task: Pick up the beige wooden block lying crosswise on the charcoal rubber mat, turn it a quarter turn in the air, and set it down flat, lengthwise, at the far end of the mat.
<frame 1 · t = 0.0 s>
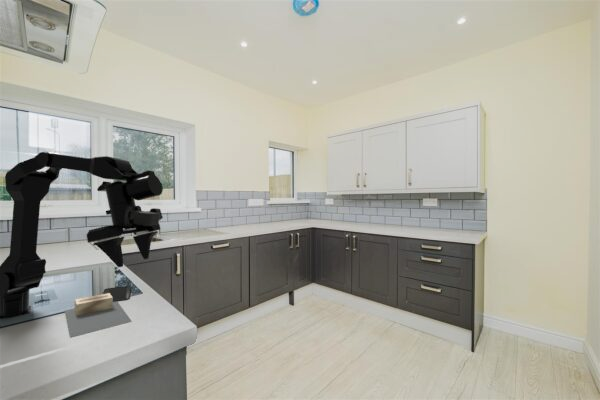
hand: (134, 262, 68), 15 cm above the table, tool pointing down, fingers open, 9 cm apart
beige wooden block: (93, 308, 74), resting on mat
phone: (116, 297, 86), on the table
mat: (96, 317, 70), on the table
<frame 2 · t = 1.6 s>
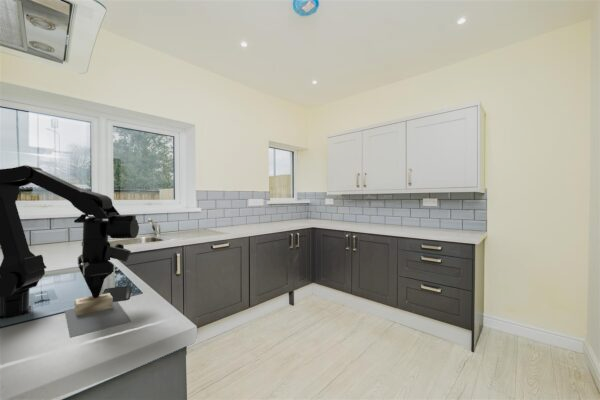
hand: (93, 293, 74), 5 cm above the table, tool pointing down, fingers open, 9 cm apart
nothing on the table moved.
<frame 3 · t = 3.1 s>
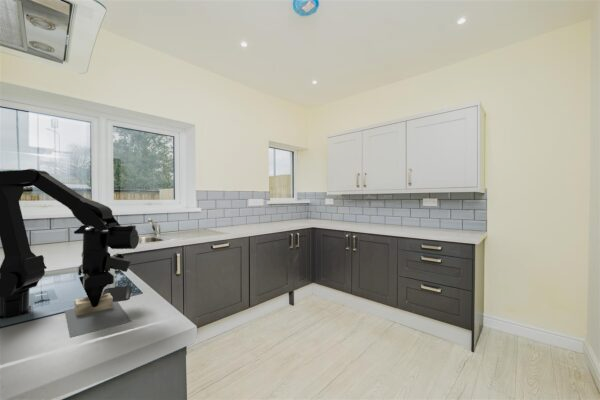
hand: (93, 304, 74), 2 cm above the table, tool pointing down, fingers closed on beige wooden block, 5 cm apart
beige wooden block: (93, 308, 74), resting on mat, touching gripper
everything else where it was.
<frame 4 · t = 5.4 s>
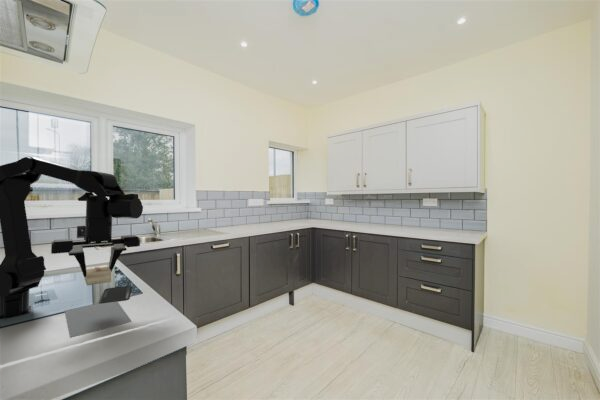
hand: (97, 275, 71), 11 cm above the table, tool pointing down, fingers closed on beige wooden block, 5 cm apart
beige wooden block: (97, 280, 71), point 10 cm above the table, touching gripper
everything else where it was.
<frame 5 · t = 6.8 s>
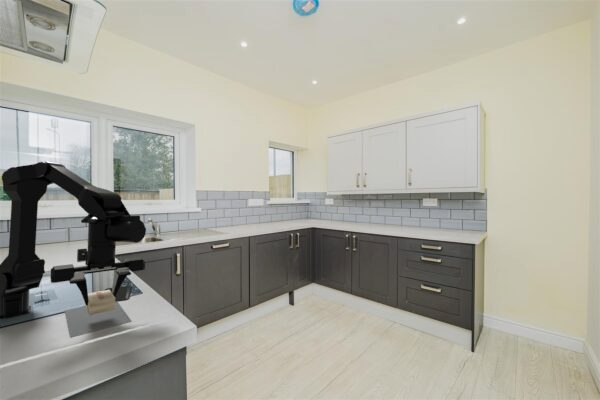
hand: (100, 302, 67), 6 cm above the table, tool pointing down, fingers closed on beige wooden block, 5 cm apart
beige wooden block: (99, 307, 67), point 4 cm above the table, touching gripper
everything else where it was.
when the fingers open (3 cm above the table, at t = 8.0 s): beige wooden block drops 1 cm, resting on mat.
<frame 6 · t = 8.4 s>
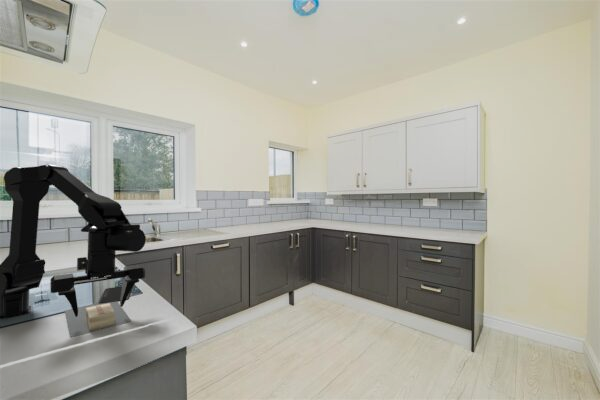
hand: (100, 310, 67), 3 cm above the table, tool pointing down, fingers open, 9 cm apart
beige wooden block: (99, 321, 67), resting on mat
everything else where it was.
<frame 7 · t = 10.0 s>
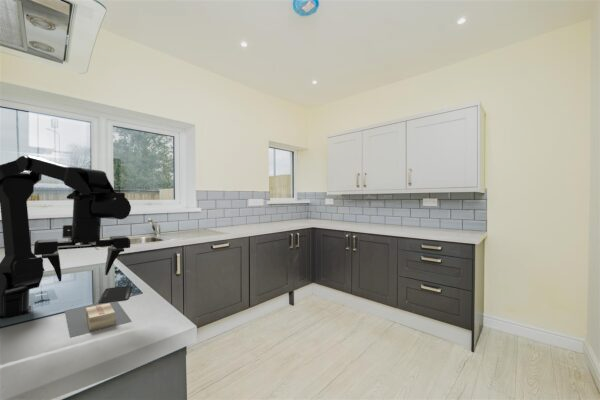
hand: (84, 277, 67), 11 cm above the table, tool pointing down, fingers open, 9 cm apart
nothing on the table moved.
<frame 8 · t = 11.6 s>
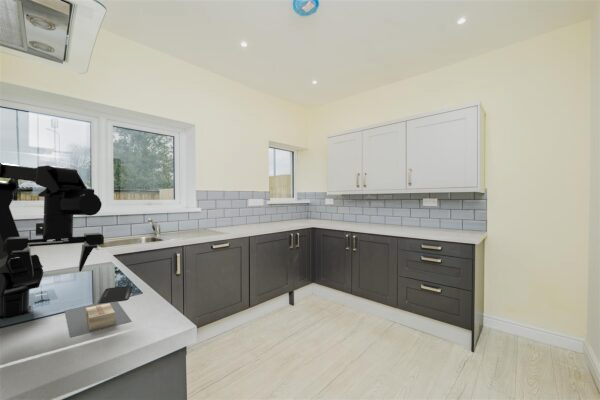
hand: (57, 274, 68), 12 cm above the table, tool pointing down, fingers open, 9 cm apart
nothing on the table moved.
at the end: beige wooden block inside the target area on the mat (0.3 cm from its centre), point 0.5 cm above the mat's base; beige wooden block tilted 0°; the gripper is holding nothing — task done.
